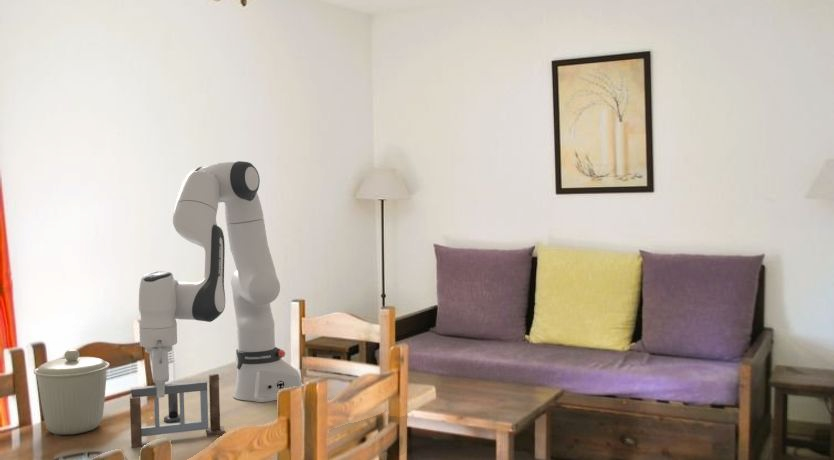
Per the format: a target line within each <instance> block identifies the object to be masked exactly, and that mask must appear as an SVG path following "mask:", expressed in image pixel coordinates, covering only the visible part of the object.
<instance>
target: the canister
mask: <svg viewBox="0 0 834 460" xmlns="http://www.w3.org/2000/svg"><path fill="white" fill-rule="evenodd" d="M110 366H111V365H110V363H109V362H108V361H105V360H104V359H102V358H99V357H94V356H93V357H92V356H80V352H79V350H77V349H73V348H72V349H67V350H66V351H65V352H64V358H59V359H53V360H50V361H47V362H44V363H42V364H41V365H39V366H38V367H37V368H35V369H34V370H33V374H34V375H35V376H36V378H37V385H38V391H39V397H40V403H41V404H40V405H41V409H42V415H43V419H44V424H45V427H46V429H47V430H48V432H50V433H52V434H53V435H54V434H55V435H59V436H60V435H61V436H66V435H67V436H68V435H78V434H83V433H87V432H90V431H92V430H95V429H96V428H97V427H99V426H100V424H101V423H102V421H103V417H104V409H105V398H106V385H107V376H108V375H107V374H108V368H109V367H110Z"/></svg>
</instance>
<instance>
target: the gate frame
mask: <svg viewBox="0 0 834 460" xmlns="http://www.w3.org/2000/svg"><path fill="white" fill-rule="evenodd" d="M208 383H209V385H208V387H209V389H208V390H209V391H208V392H209V394H208V395H209V421H210V423H209V424H210V426H209V427H208V429H205V433H206V437H215V436H216V435H218V436H223V435H222V434H224V433H225V434H226V429H225V427H224V426H223V425H222V426H221V416H220V415H221V413H220V410H221V409H220V408H221V407H220V376H219V374H218V373H212V374H209V375H208ZM141 401H142V400H141V397H140V395H138V396H131V395H130V396H129V411H130V412H129V414H130V415H129V416H130V417H129V418H130V442H131V443H130V445H131V448H140V447H142V446H143V441H142V440H143V437H142V432H141V427H142V411H141V410H142V408H141V405H142V402H141ZM216 437H217V436H216Z"/></svg>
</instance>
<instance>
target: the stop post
mask: <svg viewBox="0 0 834 460" xmlns="http://www.w3.org/2000/svg"><path fill="white" fill-rule="evenodd" d="M167 397H168V398H167V400H168V402H167V403H168V406H167V407H168V415H165V416H164V417H163V421H164V422H165V423H167V424H174V423H180V413H179V404H178V403H179V402H178V398H179V397H178V393H175V394H167Z"/></svg>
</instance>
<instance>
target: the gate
mask: <svg viewBox="0 0 834 460" xmlns="http://www.w3.org/2000/svg"><path fill="white" fill-rule="evenodd" d="M130 391H131V395H130V396H138V395H140V398H142V397H152V396H154V397H153V400H154V425H148V426H141V432H142V438H144V437H150V436H159V435H167V434H168V435H169V434H175V433H176V434H178V433H184V432H193V431H194V432H195V431H206V429H208V428H209V410H208V409H209V408H208V407H209V406H208V405H209V402H208V398H209V397H208V381H207V380H199V381H188V382H178V383H168V384H166V383H165V395H168V394H175V393H177V394H178V396H179V397H178V398H179V415H180V421H179V422H173V423H167V424H160V401H159V400H160V398H158V397H157V389H156V385H155V384H154V385H147V386H146V385H145V386H136V387H131V390H130ZM193 392H199V395H200V420H194V421H193V420H192V421H186V420H185V393H193ZM185 421H186V422H185Z"/></svg>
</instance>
